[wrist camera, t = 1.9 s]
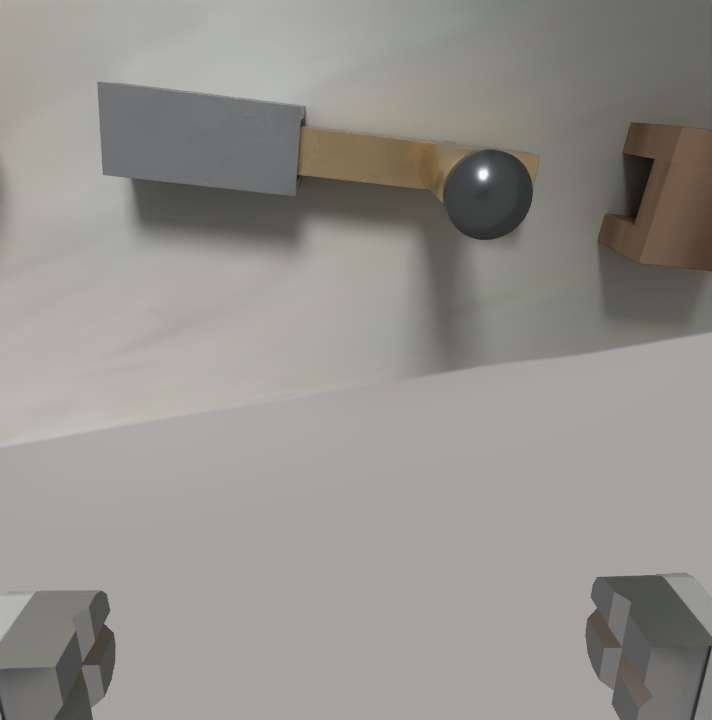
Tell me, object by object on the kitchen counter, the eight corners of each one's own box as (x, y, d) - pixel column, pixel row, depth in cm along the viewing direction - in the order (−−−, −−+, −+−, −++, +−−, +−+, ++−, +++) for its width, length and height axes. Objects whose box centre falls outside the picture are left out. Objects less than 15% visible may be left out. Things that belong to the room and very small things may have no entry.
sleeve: (129, 166, 34) (103, 174, 30) (125, 83, 32) (97, 81, 28) (299, 185, 35) (295, 196, 31) (305, 106, 33) (301, 107, 29)
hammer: (142, 160, 33) (44, 191, 22) (139, 95, 32) (34, 94, 21) (515, 203, 35) (599, 252, 24) (528, 143, 33) (625, 166, 22)
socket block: (597, 240, 37) (638, 263, 32) (631, 122, 34) (682, 126, 29) (702, 252, 37) (758, 276, 32) (744, 136, 34) (813, 143, 29)
